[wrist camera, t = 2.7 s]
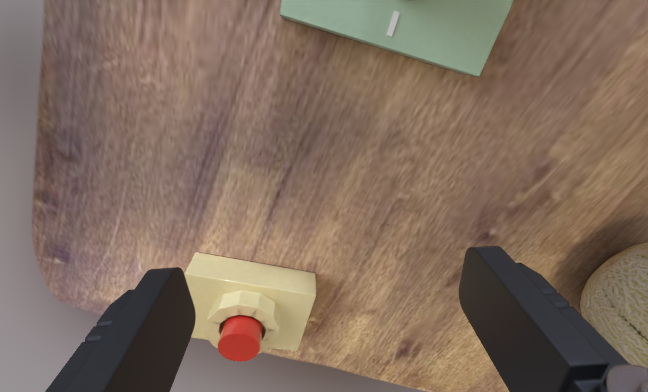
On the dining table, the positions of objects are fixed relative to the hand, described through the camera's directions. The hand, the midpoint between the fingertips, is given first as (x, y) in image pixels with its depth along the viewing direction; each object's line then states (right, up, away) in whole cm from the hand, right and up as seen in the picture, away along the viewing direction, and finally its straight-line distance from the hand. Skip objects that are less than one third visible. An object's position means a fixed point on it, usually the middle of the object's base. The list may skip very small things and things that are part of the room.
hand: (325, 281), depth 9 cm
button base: (-8, -8, +24) cm, 26 cm away
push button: (-7, -10, +20) cm, 23 cm away
